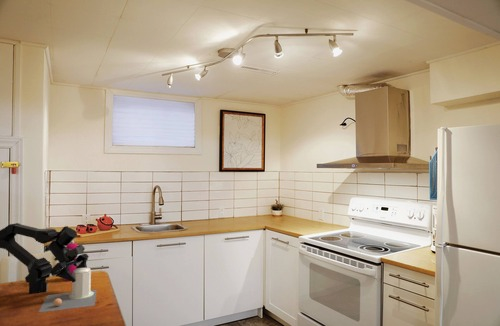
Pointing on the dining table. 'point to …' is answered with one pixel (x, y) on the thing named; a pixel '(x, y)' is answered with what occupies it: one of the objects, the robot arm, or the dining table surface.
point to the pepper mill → (72, 267)
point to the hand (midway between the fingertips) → (81, 278)
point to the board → (68, 301)
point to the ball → (57, 302)
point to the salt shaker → (81, 282)
